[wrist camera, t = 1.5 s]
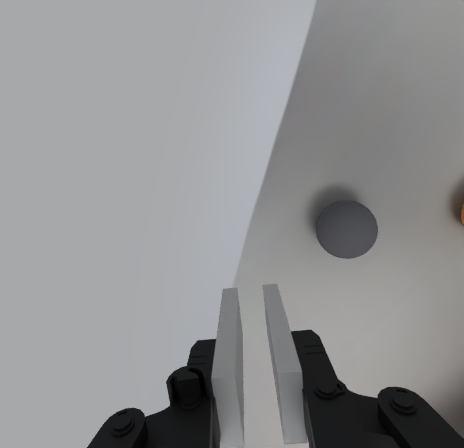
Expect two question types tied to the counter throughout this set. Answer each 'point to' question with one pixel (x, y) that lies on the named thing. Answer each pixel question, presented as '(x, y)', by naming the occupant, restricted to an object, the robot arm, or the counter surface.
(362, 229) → the dark grey ball
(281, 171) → the counter surface
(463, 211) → the object ball
